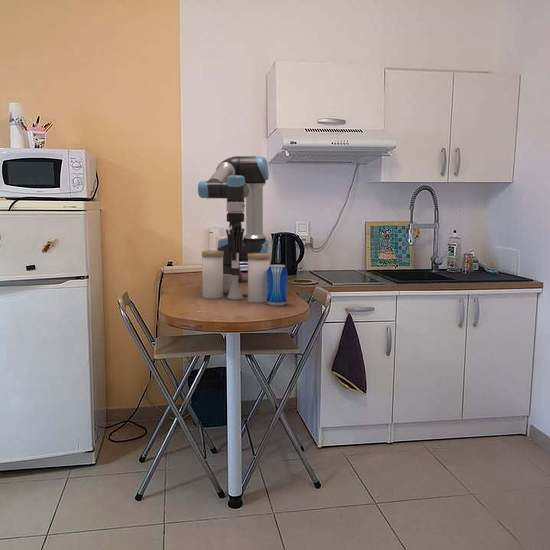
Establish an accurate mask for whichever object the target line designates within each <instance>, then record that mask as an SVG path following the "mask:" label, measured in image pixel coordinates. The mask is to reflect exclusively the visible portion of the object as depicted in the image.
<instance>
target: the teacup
mask: <svg viewBox="0 0 550 550" xmlns="http://www.w3.org/2000/svg"><path fill="white" fill-rule="evenodd" d="M232 276H233V275H230V274H223V292H224V293H229V291H230V288H231V285H232Z"/></svg>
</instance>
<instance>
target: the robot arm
mask: <svg viewBox="0 0 550 550" xmlns="http://www.w3.org/2000/svg"><path fill="white" fill-rule="evenodd" d="M269 171H270V170H269V164H268V161H267V159H266V158H265V156H259V155H258V156H257V155H256V156H255V155H253V156H251V155H250V156H248V155H247V156H246V155H245V156H244V155H243V156H238V155H235V156H231V157H229V158H226V159H224V160H222V161H221V162H220V163H218V165H217V166H216V168H215V171H214V173H213V174H212V176H211V177H210V178H209V179H208V180H201V181H199V182H198V184H197V194H198V197H199V198H201V199H207V200H208V199H226V212H227V213H226V222H228V223H229V225H228V229H225V232H226V235H227V237H224V238H219V240H217V247H216V249H217V251H224V256H223V274H230V275H233V276H234V275H237V276H239V278H238V283H239V284H240V283H242V282H244V277H243V276H244V275H243V273H242V270H241V267H240V266H241V265H240V263H248V253H269V248H270V247H269V246H270V245H269V242H270V241H269V240H268V239H267V238H266V237H267V236H266V235H265V234H264V219H263V217H264V211H263V210H264V202H263V200H264V199H263V198H264V197H263V196H264V192H263V190H264V187H265V185H266V184H267V183H266V182H267V181H268V180H269V179H270V174H269V173H270V172H269ZM244 212H245V213H244ZM243 222H245V228H242V227H243V226H242V225H243V224H242V223H243ZM245 230H246V232H245ZM244 233H245V234H244Z"/></svg>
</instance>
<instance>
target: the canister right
mask: <svg viewBox="0 0 550 550" xmlns="http://www.w3.org/2000/svg"><path fill="white" fill-rule="evenodd" d="M270 259H271V253H270V252H268V253H248V262H247V294H248V297H247V302H249V303H259V304H260V303H261V304H262V303H268V302H267V301H266V293H267V270H268V268H269V265H270Z"/></svg>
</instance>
